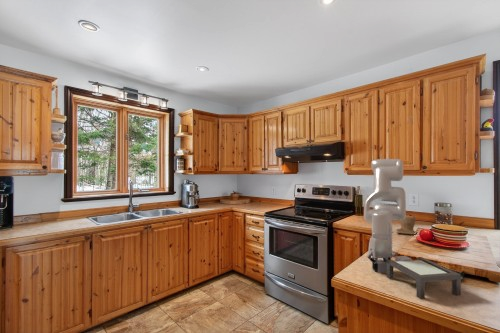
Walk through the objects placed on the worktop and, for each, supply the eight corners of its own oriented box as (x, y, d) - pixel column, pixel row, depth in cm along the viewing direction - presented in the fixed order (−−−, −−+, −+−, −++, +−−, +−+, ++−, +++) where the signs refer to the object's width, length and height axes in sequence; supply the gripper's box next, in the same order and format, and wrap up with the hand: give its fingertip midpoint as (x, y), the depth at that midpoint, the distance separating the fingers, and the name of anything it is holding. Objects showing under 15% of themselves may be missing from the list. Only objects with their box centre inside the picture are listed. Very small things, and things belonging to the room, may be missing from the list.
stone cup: (413, 232, 197) (413, 214, 197) (419, 236, 186) (419, 217, 186) (393, 230, 202) (393, 213, 202) (397, 234, 190) (397, 216, 190)
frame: (386, 277, 117) (386, 259, 117) (421, 274, 120) (421, 257, 120) (420, 299, 98) (420, 277, 98) (460, 295, 100) (460, 274, 100)
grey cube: (372, 269, 126) (372, 259, 126) (380, 268, 127) (380, 259, 127) (378, 273, 121) (378, 263, 121) (387, 272, 122) (387, 262, 122)
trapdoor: (388, 260, 120) (388, 256, 120) (412, 259, 122) (412, 255, 122) (420, 278, 101) (420, 274, 101) (448, 276, 103) (448, 272, 103)
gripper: (389, 233, 129) (389, 266, 129) (360, 234, 127) (360, 268, 127) (399, 237, 122) (399, 272, 122) (369, 238, 119) (369, 274, 119)
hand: (379, 269), depth 124 cm, fingers closed on grey cube, 5 cm apart
